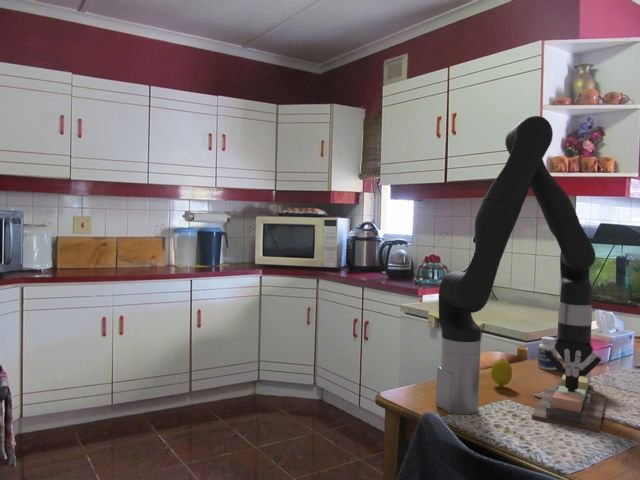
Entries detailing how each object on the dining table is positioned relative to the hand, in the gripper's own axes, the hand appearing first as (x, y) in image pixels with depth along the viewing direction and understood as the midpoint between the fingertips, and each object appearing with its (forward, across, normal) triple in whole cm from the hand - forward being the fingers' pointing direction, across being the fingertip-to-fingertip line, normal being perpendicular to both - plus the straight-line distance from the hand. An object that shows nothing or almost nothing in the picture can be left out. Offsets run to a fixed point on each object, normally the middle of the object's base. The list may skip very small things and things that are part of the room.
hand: (571, 390), depth 132 cm
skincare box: (+4, 0, +19) cm, 20 cm away
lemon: (+4, -18, +8) cm, 21 cm away
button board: (+4, 0, 0) cm, 4 cm away
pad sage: (+3, 0, 0) cm, 3 cm away
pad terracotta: (+2, 0, -9) cm, 9 cm away
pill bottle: (+4, -10, +37) cm, 39 cm away
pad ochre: (+2, 0, +9) cm, 9 cm away
